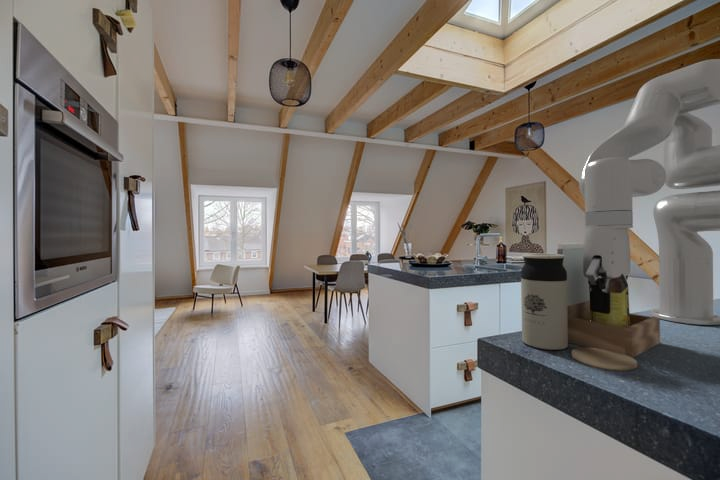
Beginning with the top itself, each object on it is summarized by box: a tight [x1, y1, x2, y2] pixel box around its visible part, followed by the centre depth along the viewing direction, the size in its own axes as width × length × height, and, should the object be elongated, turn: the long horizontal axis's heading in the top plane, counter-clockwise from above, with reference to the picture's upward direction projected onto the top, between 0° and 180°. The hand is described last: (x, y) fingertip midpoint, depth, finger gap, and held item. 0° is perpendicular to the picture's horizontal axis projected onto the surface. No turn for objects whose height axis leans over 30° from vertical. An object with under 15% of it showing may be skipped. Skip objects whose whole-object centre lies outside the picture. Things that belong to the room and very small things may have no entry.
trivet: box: [571, 346, 638, 372], centre depth 55 cm, size 9×9×1 cm
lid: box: [556, 242, 590, 306], centre depth 69 cm, size 15×1×20 cm, turn 122°
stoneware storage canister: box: [520, 253, 569, 351], centre depth 64 cm, size 8×8×18 cm
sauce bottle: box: [589, 274, 630, 327], centre depth 64 cm, size 7×6×20 cm
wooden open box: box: [567, 301, 661, 359], centre depth 65 cm, size 14×12×7 cm
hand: (609, 308), depth 64 cm, fingers open, 7 cm apart
